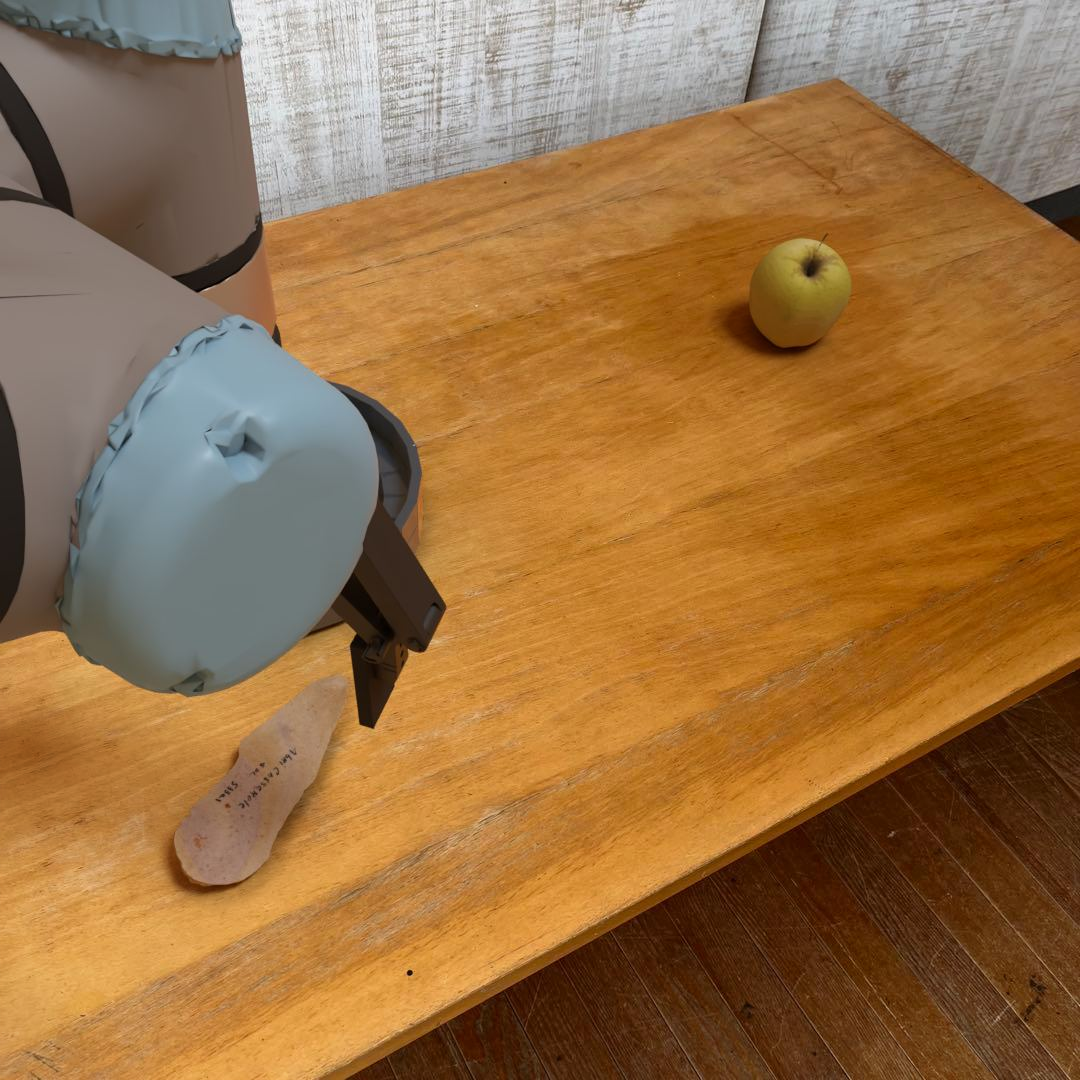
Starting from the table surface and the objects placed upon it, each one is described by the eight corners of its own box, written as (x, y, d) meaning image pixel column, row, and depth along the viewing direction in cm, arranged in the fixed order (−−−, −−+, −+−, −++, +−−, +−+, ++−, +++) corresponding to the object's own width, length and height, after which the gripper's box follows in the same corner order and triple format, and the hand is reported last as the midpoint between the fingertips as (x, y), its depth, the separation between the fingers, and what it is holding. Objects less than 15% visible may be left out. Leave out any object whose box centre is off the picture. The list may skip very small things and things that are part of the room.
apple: (748, 280, 102) (805, 193, 94) (825, 330, 101) (889, 247, 93) (714, 329, 97) (771, 241, 89) (795, 382, 96) (860, 298, 89)
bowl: (349, 682, 72) (343, 632, 69) (58, 593, 76) (38, 541, 72) (464, 467, 86) (464, 415, 82) (212, 399, 89) (202, 347, 85)
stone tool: (300, 663, 72) (151, 865, 63) (304, 651, 71) (152, 854, 62) (372, 706, 72) (233, 914, 63) (377, 694, 71) (236, 904, 61)
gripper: (524, 352, 44) (509, 678, 60) (-48, 212, 48) (78, 551, 64) (454, 486, 39) (457, 802, 55) (-176, 317, 43) (-5, 656, 59)
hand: (253, 668), depth 60 cm, fingers open, 13 cm apart
